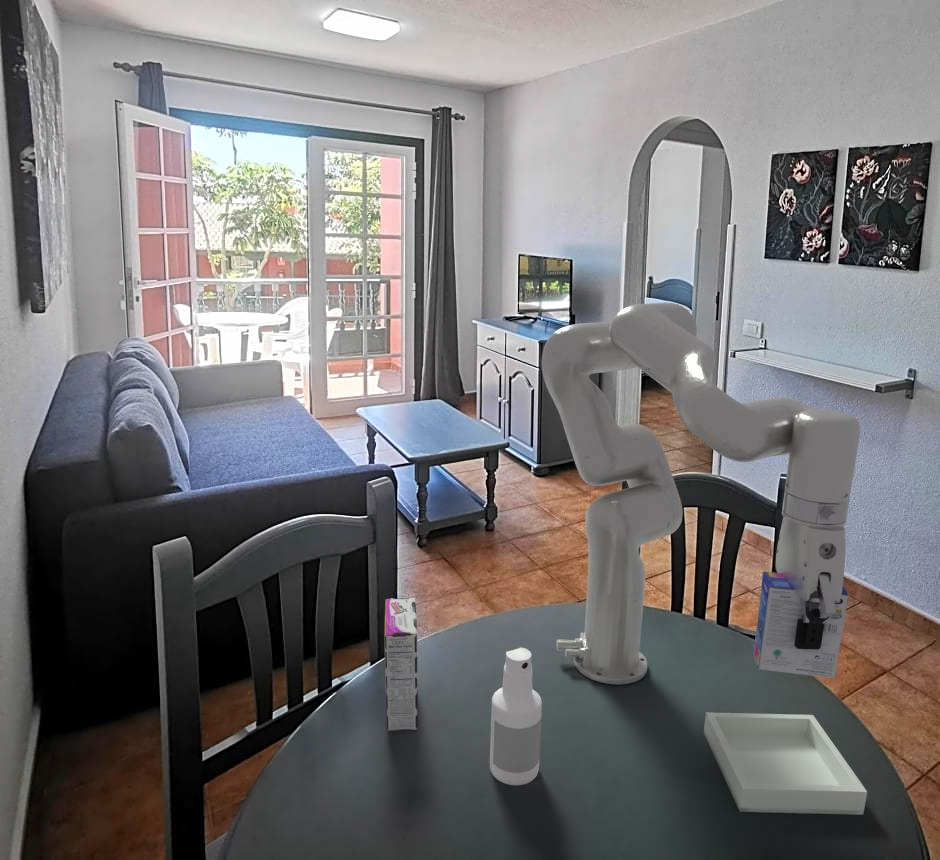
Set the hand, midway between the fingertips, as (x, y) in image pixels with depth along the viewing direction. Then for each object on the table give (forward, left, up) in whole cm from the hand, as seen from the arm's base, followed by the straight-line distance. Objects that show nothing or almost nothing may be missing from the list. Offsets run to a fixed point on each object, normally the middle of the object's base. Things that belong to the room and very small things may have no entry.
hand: (796, 633), depth 99 cm
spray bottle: (-37, -1, -22) cm, 43 cm away
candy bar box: (-54, +12, -22) cm, 59 cm away
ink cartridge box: (0, 0, -5) cm, 5 cm away
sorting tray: (0, 0, -21) cm, 21 cm away
